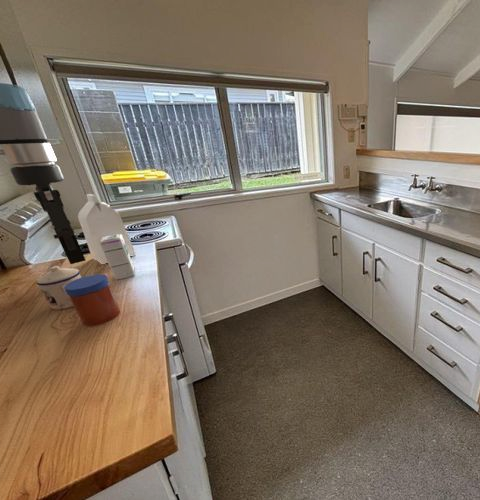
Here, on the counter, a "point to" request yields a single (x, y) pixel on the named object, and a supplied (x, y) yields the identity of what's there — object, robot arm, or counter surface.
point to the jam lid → (86, 285)
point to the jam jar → (96, 306)
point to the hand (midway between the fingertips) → (74, 255)
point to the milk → (101, 226)
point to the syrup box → (117, 256)
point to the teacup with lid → (58, 286)
